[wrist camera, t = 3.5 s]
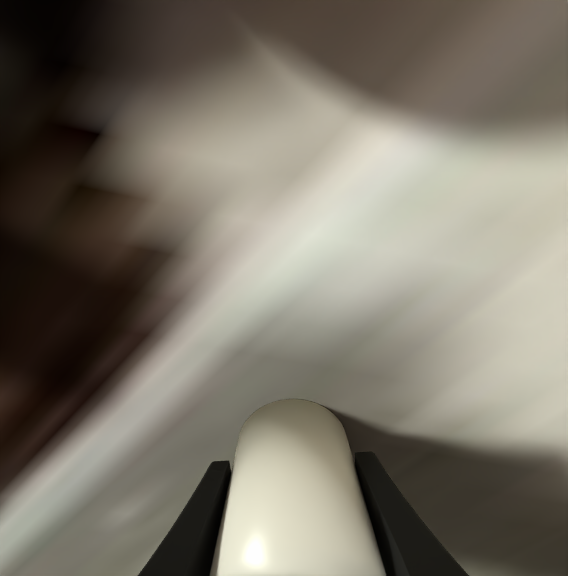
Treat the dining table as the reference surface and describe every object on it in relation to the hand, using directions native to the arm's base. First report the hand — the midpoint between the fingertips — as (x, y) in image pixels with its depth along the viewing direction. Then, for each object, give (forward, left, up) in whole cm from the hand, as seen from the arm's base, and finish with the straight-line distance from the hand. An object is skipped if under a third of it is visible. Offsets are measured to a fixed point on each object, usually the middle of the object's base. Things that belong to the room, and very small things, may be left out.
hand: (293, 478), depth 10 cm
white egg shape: (0, 0, -1) cm, 1 cm away
